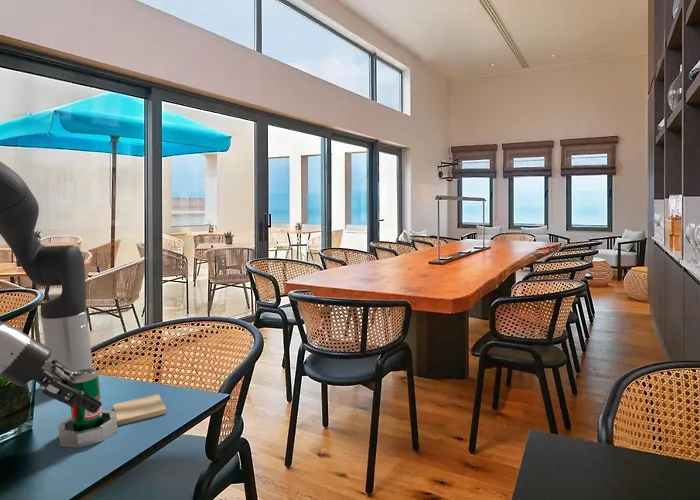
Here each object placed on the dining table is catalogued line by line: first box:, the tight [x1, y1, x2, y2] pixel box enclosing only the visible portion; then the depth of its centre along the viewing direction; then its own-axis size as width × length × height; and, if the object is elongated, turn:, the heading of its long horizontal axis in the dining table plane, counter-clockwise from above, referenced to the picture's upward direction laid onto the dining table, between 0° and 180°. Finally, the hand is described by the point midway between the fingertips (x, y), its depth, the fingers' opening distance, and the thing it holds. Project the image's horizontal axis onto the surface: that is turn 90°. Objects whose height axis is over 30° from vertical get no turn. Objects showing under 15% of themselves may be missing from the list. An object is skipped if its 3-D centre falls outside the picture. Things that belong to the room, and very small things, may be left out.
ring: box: [57, 409, 119, 449], centre depth 93 cm, size 10×10×2 cm
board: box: [112, 393, 168, 426], centre depth 102 cm, size 9×9×1 cm
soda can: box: [68, 368, 103, 432], centre depth 92 cm, size 5×5×12 cm
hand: (97, 402), depth 94 cm, fingers closed on soda can, 5 cm apart
